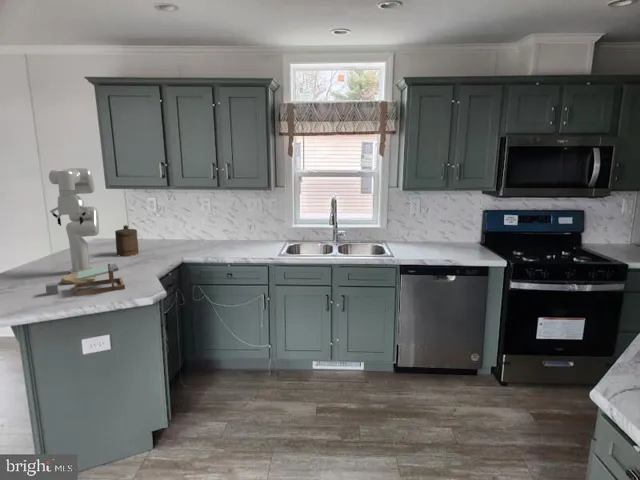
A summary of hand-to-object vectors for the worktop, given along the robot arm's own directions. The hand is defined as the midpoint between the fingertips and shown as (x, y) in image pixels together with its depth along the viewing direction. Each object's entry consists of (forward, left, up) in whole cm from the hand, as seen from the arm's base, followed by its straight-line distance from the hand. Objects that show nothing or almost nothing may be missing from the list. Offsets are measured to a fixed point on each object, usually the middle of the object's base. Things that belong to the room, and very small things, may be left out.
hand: (70, 224), depth 219 cm
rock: (-5, +3, -34) cm, 34 cm away
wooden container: (-67, +34, -34) cm, 82 cm away
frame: (+16, +10, -34) cm, 38 cm away
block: (+14, -11, -34) cm, 38 cm away
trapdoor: (+16, +10, -25) cm, 31 cm away
